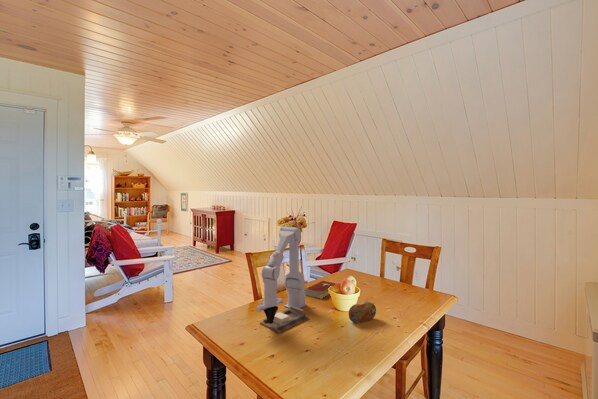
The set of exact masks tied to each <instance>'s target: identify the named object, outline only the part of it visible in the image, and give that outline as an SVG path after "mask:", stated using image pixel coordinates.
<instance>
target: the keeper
mask: <svg viewBox="0 0 598 399" xmlns="http://www.w3.org/2000/svg"><path fill="white" fill-rule="evenodd" d="M281 312H282V311H280V312H276V314H275V316H274V320H273V322H275V323H277V324H280V325H281V324H283V323H285V322H287V321H289V316H288V315H286V314H283V313H281Z"/></svg>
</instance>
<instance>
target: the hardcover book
mask: <svg viewBox="0 0 598 399" xmlns="http://www.w3.org/2000/svg"><path fill="white" fill-rule="evenodd" d="M335 284H337V283H335V282H331V281H326V280H321V281H318V282H316V283H315V284H312V285H311V286H310V285H309V286H308V287H306V288H304V290H305V296H308V297H311V298H315V297H316V299H319V298H320V299H319V300H322V299H324V298H326V297H327V296H330V294H329V293H328V288H329V287H330V286H334V285H335ZM325 296H326V297H325ZM323 297H324V298H323Z"/></svg>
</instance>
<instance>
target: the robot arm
mask: <svg viewBox="0 0 598 399" xmlns="http://www.w3.org/2000/svg"><path fill="white" fill-rule="evenodd" d="M278 236H279V241H278V243H277V247H276V250H275V251H274V252H272V253H271V256H270V258H269V260H268V262H267V264H266V265H265V266H263V268H262V270H261V277H262V282H263V287H264V288H263V300H262V301H263V302H262V303H260V304H259V305H257V306H255V308H256V309H255V310H256V312H258V313H261V312H262V311H263V312H264V314H265V317H266V318H267V322H268V323H270V324H272V323H273V320H274V316H275V314H277V313H278V310H279V307H278V306H277V305H280V304H284V298H282V297H279V298H278V279H279V277H280V272H281V265H282V262H283V260H284V252H285V251H286V248H287V247H288V248H289V250H288V252H289V254H288V256H289V259H288V260H289V265H288V266H289V272H287V273H286V274H285V277H284V278H285V279H284V287H285V288H286V291H287V304H284V307H285V308H287V309H290V306H295V307H297V308H300V309H302V308H303V307H305V306H307V304H306V295H305V290H304V289H305V286H306V280H305V275H304V274H303V273H302V272H301V271H300V262H299V261H300V254H299V252H300V251H299V248H300V247H299V243H300V242H301V241H302V230H301V228H300V227H298V226H297V227H292V226H280V229H279V231H278Z"/></svg>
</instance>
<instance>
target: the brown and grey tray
mask: <svg viewBox="0 0 598 399" xmlns="http://www.w3.org/2000/svg"><path fill="white" fill-rule="evenodd" d="M280 312H281V313H283V314H286V315H288V316H289V321H287V322H285V323H283V324H281V325H280V324H277V323H275V322H273V323H272V324H270V323H268V322H267V317H266V318H264V319H263V320H261V321H259V324H260V325H262V326H264V327H265V328H268V329H270V330H271V331H274V332H276V333H278V334H281V333H283V332H285V331H287V330H289V329H291V328H293V327H295V326H297V325H299V324H301V323H303V322H305V321H308V320H310V317H309V316H308V315H307V314H306V313H305V309H302V308H297V307H295V306H290V308H287V309H285V310H284V311H280Z"/></svg>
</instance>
